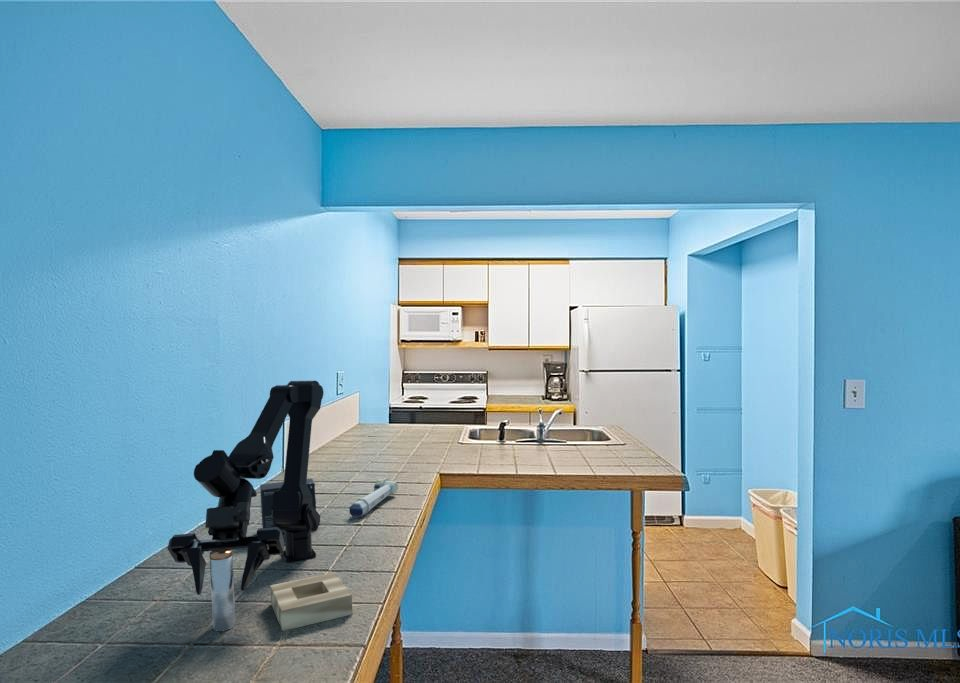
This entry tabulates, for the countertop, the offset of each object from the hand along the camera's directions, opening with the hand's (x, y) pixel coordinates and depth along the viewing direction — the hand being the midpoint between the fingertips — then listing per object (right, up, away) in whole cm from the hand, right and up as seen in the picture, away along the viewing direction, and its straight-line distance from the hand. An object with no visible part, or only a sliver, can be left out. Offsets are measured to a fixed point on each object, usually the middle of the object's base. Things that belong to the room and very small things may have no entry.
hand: (220, 592), depth 107 cm
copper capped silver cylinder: (0, -7, +2) cm, 7 cm away
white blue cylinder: (+11, -2, +73) cm, 74 cm away
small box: (-4, -6, +53) cm, 53 cm away
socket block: (+13, -6, +7) cm, 16 cm away
